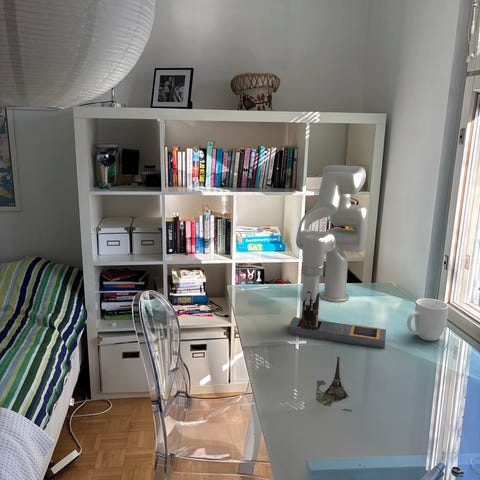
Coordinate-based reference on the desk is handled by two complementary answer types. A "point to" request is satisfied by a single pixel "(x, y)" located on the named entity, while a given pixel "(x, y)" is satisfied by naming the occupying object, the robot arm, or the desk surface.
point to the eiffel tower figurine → (332, 390)
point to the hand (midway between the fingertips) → (309, 316)
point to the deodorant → (314, 322)
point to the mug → (429, 318)
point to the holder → (340, 333)
